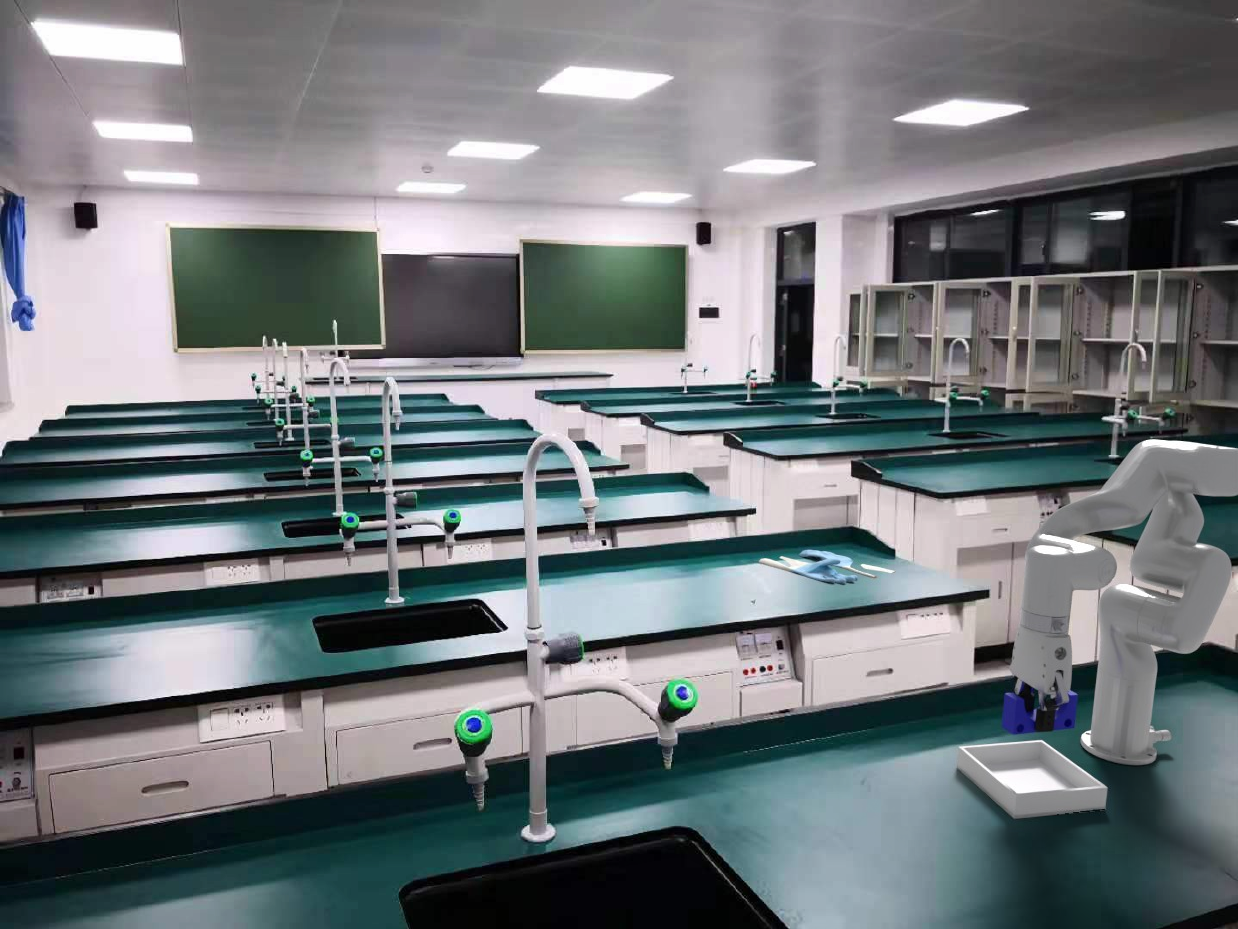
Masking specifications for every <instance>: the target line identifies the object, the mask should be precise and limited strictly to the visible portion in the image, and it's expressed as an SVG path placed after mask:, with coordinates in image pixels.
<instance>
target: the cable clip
mask: <svg viewBox="0 0 1238 929" xmlns="http://www.w3.org/2000/svg"><path fill="white" fill-rule="evenodd" d="M1067 694H1068V697H1069V702H1067V703H1065V704H1062V705H1061V706H1060V707H1059V709H1058V710H1056V712H1055V721H1054V730H1053V731H1060V730H1070V729H1075V726H1076V725H1075V724H1076V716H1077V707H1078V699H1079V694H1077V692H1075V691H1073V690H1071V689H1070V691H1069V692H1068V693H1067ZM1017 695H1018V694H1016V693H1014V692H1006V693H1004V696H1003V697H1004V698H1003V699H1004V700H1003V708H1002V718H1001V720H1002V721H1001V728H1002V729H1004V730H1005V731H1006V732H1008V733H1010V734H1011V735H1013V736H1015V735H1025V734H1033V733H1037V732H1036V731H1035V719H1036V710H1037V708H1040V706H1038V707H1037V708H1034V710H1033V711H1029V712H1027V713H1026V711H1025V707H1024V699H1022V698H1021V697H1019V696H1017Z"/></svg>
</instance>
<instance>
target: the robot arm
mask: <svg viewBox="0 0 1238 929" xmlns="http://www.w3.org/2000/svg"><path fill="white" fill-rule="evenodd" d="M1195 495H1199V496H1208V497H1235V496H1238V448H1237V447H1236V448H1235V447H1228V446H1222V445H1221V446H1220V445H1215V444H1214V445H1213V444H1206V443H1199V442H1192V441H1185V440H1184V441H1181V440H1163V439H1147V440H1143V441H1141V442H1139V443H1137V444H1135V446H1134V447H1133V448H1132V449H1131V450H1130V451H1129V452H1128V454H1127V455H1126V457H1124V459H1123V460H1122V462H1121V463H1120V464H1119V465H1118V466H1117V468H1116V469H1115V471H1114V472H1113V473H1112V474H1111V476H1110V477H1109V478H1108V480H1107V481H1106V482H1105V483H1104V484H1103V486H1102V487H1101V489H1100V490H1098V491H1097V492H1095V493H1092V494H1089V495H1086V496H1084V497H1081V498H1080V499H1077V500H1075V501H1072V502H1071V503H1069V504H1066V505H1064V506H1061V508H1059V509H1057V510H1055V511H1054V512H1052V513H1051V514H1050V515H1049V516H1048V517H1046V519H1045V520H1044V521H1043V522H1042V524H1041V525H1040V526H1039V528H1038V529H1037V530H1036V532H1035V533H1034V534H1033V535H1032V537H1031V539H1030V540H1029V541H1028V544H1027V546H1026V549H1025V555H1024V561H1025V564H1024V572H1023V573H1024V576H1023V584H1022V593H1021V603H1020V612H1019V613H1020V614H1019V623H1018V627H1017V630H1016V634H1015V639H1014V645H1013V649H1012V657H1011V663H1010V664H1009V667H1008V668H1009V671H1010V673H1011V675H1012V679H1013V682H1014V684H1015V688H1014V692H1015V693H1014V694H1016V695H1017V696H1019V697H1021V698H1022V699H1024V707H1025V711H1026V713H1027V712H1029V711H1033V710H1035V703H1036V695H1035V694H1034V690H1037V691H1038V702H1039V706H1038V707H1040V708H1038V707H1037V708H1036V709H1037V710H1036V719H1035V731H1036V732H1035V733H1046V732H1050V733H1051V732H1053V731H1055V730H1054V721H1055V712H1056V710H1058V709H1059V707H1060V706H1061V705H1062V704H1065V703H1067V702H1069V697H1068V694H1067V693H1068V692H1069V691H1070V690H1071V685H1072V674H1073V672H1072V671H1073V649H1072V638H1071V635H1070V634H1069V630H1070V620H1071V612H1072V602H1073V595H1074V594H1073V593H1074V591H1098V590H1101V589H1103V588H1105V587H1107V586H1108V585H1110V584H1111V583H1112V582H1113V580H1114V579H1115V577H1116V574H1117V570H1118V564H1117V561H1116V558H1115V556H1114V555H1113V553H1112V552H1111V551H1109V550H1108V549H1106V548H1104V547H1102V546H1098V545H1095V544H1092V543H1091V544H1090V543H1086V542H1082V541H1079V540H1075V539H1076V538H1078V537H1081V536H1083V535H1087V534H1090V533H1095V532H1097V533H1098V532H1103V531H1112V530H1114V531H1115V530H1120V529H1126V528H1130V527H1135V526H1138V525H1140V524H1142V523H1143V522H1144V521H1145V520H1146V518H1147V517H1148V516H1149V515H1150V516H1149V519H1148V521H1147V523H1146V524H1145V527H1144V530H1143V531H1142V533H1141V535H1140V538H1139V540H1138V542H1137V544H1136V546H1135V548H1134V551H1133V553H1132V555H1131V558H1130V561H1129V572H1130V573H1131V575H1132V576H1133V577H1134V578H1135V579H1136V580H1137V581H1140V582H1141V583H1144V584H1146V585H1150V586H1154V587H1156V588H1160V589H1163V590H1168V591H1172V592H1176V593H1180V594H1182V596H1181V597H1180V596H1178V595H1177V596H1176V595H1173V594H1169V593H1164V592H1162V591H1158V590H1154V589H1151V588H1146V587H1144V586H1143V587H1142V586H1139V585H1135V584H1128V583H1118V584H1113V585H1111V586H1109V587H1107V588H1106V589H1105V590H1104V591H1103V592H1102V593H1101V595H1100V596H1099V600H1098V605H1097V612H1098V622H1099V639H1100V640H1099V655H1098V663H1097V664H1098V665H1097V670H1096V671H1097V672H1096V681H1095V682H1096V683H1095V688H1094V700H1093V707H1092V717H1091V725H1090V726H1091V727H1090V730H1087V731H1085V732H1083V733H1082V734H1081V735H1080V736H1081V737H1080V744H1081V747H1082V748H1084V750H1086V752H1088V753H1090V754H1091V755H1093V756H1095V757H1097V758H1100V759H1103V760H1106V761H1108V762H1112V763H1117V764H1121V765H1128V766H1145V765H1149V764H1152V763H1153V762H1154V761H1156V759H1157V754H1158V752H1157V749H1156V748H1155V747H1154V744H1156V743H1157V742H1165V741H1166V742H1167V741H1171V739H1172V734H1171V732H1170V731H1169V730H1168V729H1161V730H1156V729H1155V727H1154V726H1153V725H1151V722H1152V715H1153V708H1154V707H1153V706H1154V697H1155V690H1156V689H1155V688H1156V683H1157V682H1156V681H1157V675H1158V674H1157V673H1158V661H1157V658H1156V654H1155V651H1154V649H1153V646H1154V647H1157V648H1160V649H1163V650H1167V651H1170V652H1173V653H1177V654H1182V655H1183V654H1184V655H1185V654H1186V655H1187V654H1191V653H1193V652H1196V651H1197V650H1198V649H1199V648H1200V646H1201V645H1202V644H1203V642H1204V640H1205V638H1206V637H1207V634H1208V633H1209V631H1210V629H1211V626H1212V624H1213V621H1214V620H1215V617H1216V616H1217V615H1216V614H1217V613H1218V611H1219V608H1220V606H1221V604H1222V602H1223V600H1224V598H1225V596H1226V593H1227V590H1228V588H1229V586H1230V582H1231V578H1232V562H1231V559H1230V557H1229V555H1228V554H1227V552H1225V551H1224V550H1222V549H1221V548H1219V547H1216V546H1214V545H1211V544H1206V543H1202V542H1198V540H1199V537H1200V534H1201V532H1202V530H1203V527H1204V525H1205V524H1204V523H1205V518H1204V514H1203V511H1202V508H1201V507H1200V506H1201V505H1200V504H1199V503H1198V500H1197V499H1196V497H1195ZM1047 696H1050V698H1049V699H1047Z"/></svg>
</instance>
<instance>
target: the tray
mask: <svg viewBox="0 0 1238 929" xmlns="http://www.w3.org/2000/svg"><path fill="white" fill-rule="evenodd" d="M956 759H957V760H956V768H957V770H959V771H960V772H961V773H962V774H963V775H964V776H965V777H967V778H968V779H969V780H970V781H971V782H972V783H973V784H974V785H976V786H977V788H979V789H980V790H981V791H982V792H983V793H984V794H986V795H987V796H988V797H989V798H990V799H991V800H992V801H994V803H996V804H997V805H998V806H999V807H1000V808H1002V810H1004V811H1005V813H1007V814H1008V815H1009V816H1010V817H1011V818H1013V819H1014V820H1017V819H1024V818H1035V817H1036V818H1037V817H1045V816H1046V817H1047V816H1055V815H1057V814H1059V815H1066V814H1065V813H1069V814H1074V813H1073V812H1079V813H1081V812H1080V811H1086V810H1093V809H1105V810H1106V803H1107V796H1108V787H1107V786H1106V785H1105V784H1104V783H1103V782H1101V781H1099V780H1098V779H1097V778H1095V777H1094V776H1092V775H1091V774H1090V773H1088V772H1087V771H1086V770H1084V769H1083V768H1082V767H1080V766H1078V765H1077V764H1076V763H1075V762H1073V761H1072V760H1071V759H1069V758H1068V757H1066V756H1065V755H1064V754H1063V753H1061V752H1060V751H1058V750H1056V749H1055V748H1054V747H1052V746H1051V745H1050V744H1048V743H1047V742H1045V741H1044V740H1043V739H1037V740H1027V741H1026V740H1025V741H1015V742H1000V743H990V744H989V743H988V744H976V745H974V744H973V745H963V746H960V745H959V746H958V748H957V758H956Z"/></svg>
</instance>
